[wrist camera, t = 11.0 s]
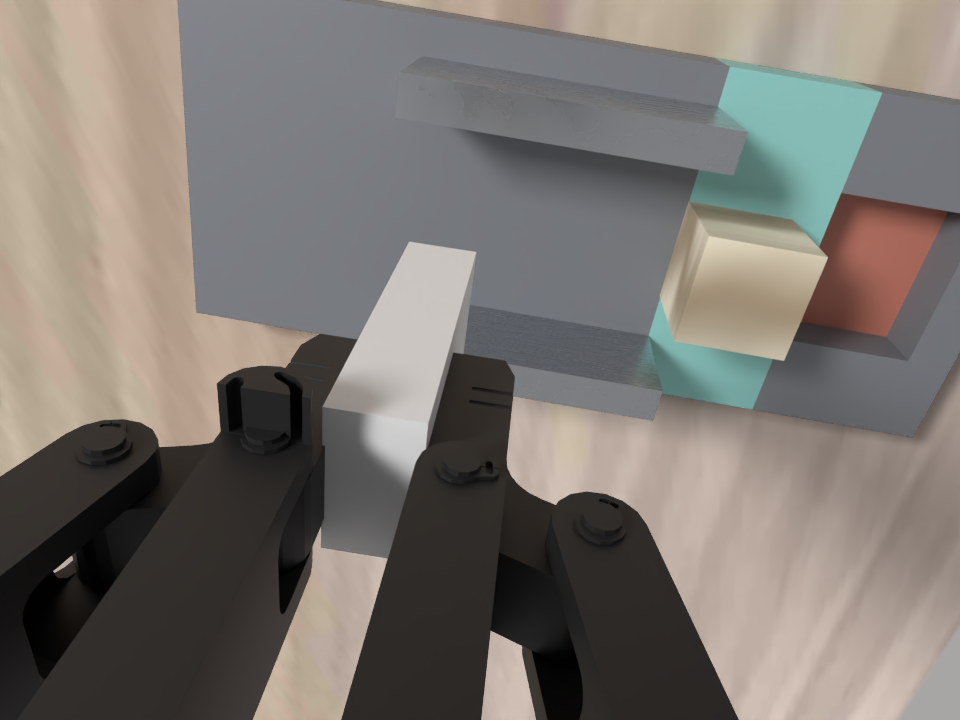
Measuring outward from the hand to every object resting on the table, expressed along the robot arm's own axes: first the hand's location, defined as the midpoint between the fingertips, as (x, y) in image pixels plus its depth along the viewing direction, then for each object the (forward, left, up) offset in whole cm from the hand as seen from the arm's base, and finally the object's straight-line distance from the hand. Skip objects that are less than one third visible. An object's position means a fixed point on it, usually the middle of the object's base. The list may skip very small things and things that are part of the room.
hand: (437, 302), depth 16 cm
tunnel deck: (+3, +5, -19) cm, 20 cm away
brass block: (+3, +11, -16) cm, 19 cm away
